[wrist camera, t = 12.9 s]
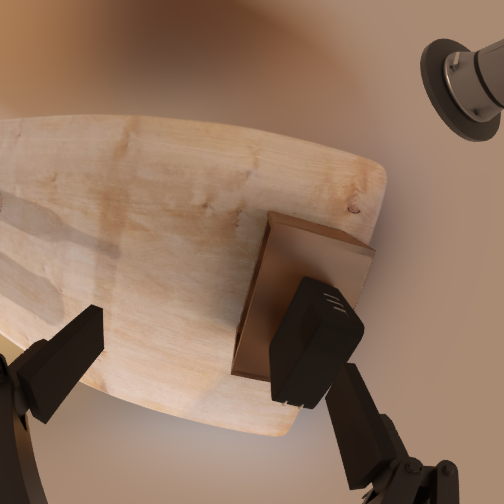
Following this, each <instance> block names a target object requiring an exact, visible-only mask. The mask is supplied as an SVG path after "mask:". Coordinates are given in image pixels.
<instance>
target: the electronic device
mask: <svg viewBox="0 0 504 504" xmlns="http://www.w3.org/2000/svg"><path fill="white" fill-rule="evenodd" d="M363 334H364V325H363V323H362V321H361V320H360V318H359V317H358V316H357V314H356V313H355V311H354V310H353V309H352V307H351V306H350V304H349V303H348V302H347V300H346V299H345V298H344V296H343V295H342V293H341V292H340V291H339V289H337V288H335V287H332V286H330V285H327V284H324V283H322V282H319V281H317V280H314V279H311V278H309V277H306V276H304V277H303V278H302V280H301V282H300V284H299V286H298V288H297V290H296V292H295V294H294V297H293V299H292V301H291V303H290V305H289V307H288V309H287V311H286V313H285V315H284V317H283V319H282V321H281V323H280V325H279V327H278V329H277V331H276V333H275V335H274V337H273V339H272V341H271V343H270V346H269V365H270V382H271V398H272V401H276V402H280V403H282V406H285V405H286V404H289V405H293V406H298V409H299V410H301V409H302V408H308V409H313V408H314V407H315V406H316V405H317V404H318V402H319V401H320V400H321V398H322V397H323V396H324V394H325V393H326V392H327V390H328V389H329V387H330V386H331V385H332V383H333V382H334V380H335V378H336V376H337V374H338V372H339V370H340V367H341V365H342V363H343V362H344V363H347V361H348V360H349V358H350V357H351V355H352V353H353V352H354V350H355V349H356V347H357V345H358V344H359V342H360V341H361V339H362V336H363Z"/></svg>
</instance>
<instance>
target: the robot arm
mask: <svg viewBox="0 0 504 504" xmlns="http://www.w3.org/2000/svg"><path fill="white" fill-rule="evenodd" d="M441 71H442V78H443V82H444V85H445V88H446V90H447V93H448V95H449V97H450V98H451V100H452V102H453V103H454V105H455V106H456V107H457V109H458V110H459V111H460V112H461V113H462V114H463V115H464V116H465V117H467V118H468V119H469V120H471V121H473V122H477V123H481V122H487V121H489V120H491V119H492V118H493V117H494V116H496V115H497V114H498V113H499V112H501V111H502V110H503V109H504V39H503V40H501V41H498V42H496V43H494V44H492V45H490V46H488V47H485V48H483V49H481V50H479V51H477V52H453V53H451V54H449V55H448V56H446V57H445V58H444V60H443V62H442V67H441ZM103 350H104V335H103V308H100V307H98V306H95V305H92V304H91V305H90V306H89V307H88V308H86V309H85V310H84V311H83V312H82V313H80V314H79V315H78V316H77V317H76V318H75V319H73V320H72V321H71V322H70V323H69V324H68V325H66V326H65V327H64V328H63V329H62V330H61V331H60V332H58V333H57V334H56V335H55V336H54V337H53V338H52V339H50V340H49V341H47V340H45V339H42V340H39V341H37V342H35V343H33V344H32V345H31V346H30V347H29V349H27V350H25V351H24V353H22V354H21V355H20V356H19V357H18V358H16V359H15V360H14V362H12V363H11V364H10V365H9V366H7V362H6V360H5V357H4V356H3V355H2V354H0V504H48V502H47V500H46V496H45V493H44V490H43V487H42V484H41V480H40V477H39V473H38V469H37V465H36V461H35V457H34V452H33V448H32V443H31V437H30V432H29V425H28V419H27V415H26V412H27V411H28V409H29V408H30V411H31V413H32V415H33V417H35V418H36V419H38V420H40V421H41V422H43V423H44V424H46V423H47V422H48V421H49V419H50V418H51V417H52V415H53V414H54V412H55V411H56V410H57V408H58V407H59V406H60V404H61V403H62V401H63V400H64V399H65V398H66V396H67V395H68V394H69V393H70V391H71V390H72V389H73V387H74V386H75V385H76V383H77V382H78V381H79V380H80V378H81V377H82V376H83V375H84V373H85V372H86V371H87V370H88V368H89V367H90V366H91V365H92V363H93V362H94V361H95V360H96V358H97V357H98V356H99V355H100V353H101V352H102V351H103ZM325 400H326V403H327V407H328V411H329V414H330V417H331V421H332V425H333V428H334V432H335V435H336V439H337V443H338V447H339V450H340V454H341V458H342V462H343V465H344V469H345V473H346V477H347V481H348V484H349V489H350V490H355V489H363V488H366V486H368V485H369V484H370V483H371V482H372V485H373V488H372V489H371V490H370V491H369V492H367V494H365V495H364V496H363V497H362V499H364V498H365V497H366V496H367V497H366V498H365V500H364V502H363V503H362V504H459V480H458V469H457V467H456V465H455V464H454V463H453V462H451V461H448V460H443V461H441V462H439V463H438V464H437V465H436V466H435V467H434V466H423V464H422V463H421V462H420V461H419V460H418V459H416V458H413V457H409V455H408V453H407V451H406V449H405V447H404V444H403V443H402V440H401V438H400V436H398V432H397V430H395V426H394V424H393V422H392V420H391V419H390V418H389V417H388V416H387V415H386V414H379V412H378V410H377V408H376V406H375V404H374V401H373V399H372V397H371V395H370V393H369V391H368V389H367V387H366V385H365V383H364V381H363V379H362V377H361V375H360V373H359V371H358V369H357V367H356V365H355V364H354V363H344V362H343V363H342V365H341V367H340V370H339V372H338V374H337V376H336V378H335V380H334V382H333V384H332V385H331V387H330V389H329V391H328V393H327V395H326V397H325Z"/></svg>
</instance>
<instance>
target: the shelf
mask: <svg viewBox="0 0 504 504" xmlns="http://www.w3.org/2000/svg"><path fill="white" fill-rule="evenodd" d="M267 218H268V219H267V223H266V226H265V230H264V234H263V238H262V241H261V245H260V249H259V252H258V256H257V260H256V263H255V267H254V271H253V274H252V278H251V282H250V285H249V289H248V293H247V296H246V300H245V304H244V307H243V311H242V314H241V318H240V322H239V325H238V326H237V329H236V337H235V344H234V352H233V360H232V368H231V375H236V376H240V377H245V378H250V379H255V380H261V381H266V382H270V365H269V346H270V343H271V341H272V339H273V337H274V335H275V333H276V331H277V329H278V327H279V325H280V323H281V321H282V319H283V317H284V315H285V313H286V311H287V309H288V307H289V305H290V303H291V301H292V299H293V297H294V294H295V292H296V290H297V288H298V286H299V284H300V282H301V280H302V278H303V277H304V276H306V277H309V278H311V279H314V280H317V281H319V282H322V283H324V284H327V285H330V286H332V287H335V288H337V289H339V291H340V292H341V293H342V295H343V296H344V298H345V299H346V300H347V302H348V303H349V304H350V306H351V307H352V309H353V310H354V309H355V306H356V304H357V301H358V299H359V296H360V294H361V291H362V288H363V286H364V283H365V280H366V278H367V275H368V272H369V269H370V267H371V264H372V261H373V258H374V255H375V252H376V251H375V250H373V249H372V248H371V247H369V246H367V245H366V244H364V243H362V242H361V241H359V240H357V239H356V238H354V237H352V236H351V235H349V234H347V233H346V232H344V231H340V230H337V229H333V228H330V227H327V226H323V225H320V224H316V223H313V222H309V221H306V220H302V219H299V218H295V217H291V216H288V215H284V214H280V213H277V212H273V211H269V212H268V215H267Z"/></svg>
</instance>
